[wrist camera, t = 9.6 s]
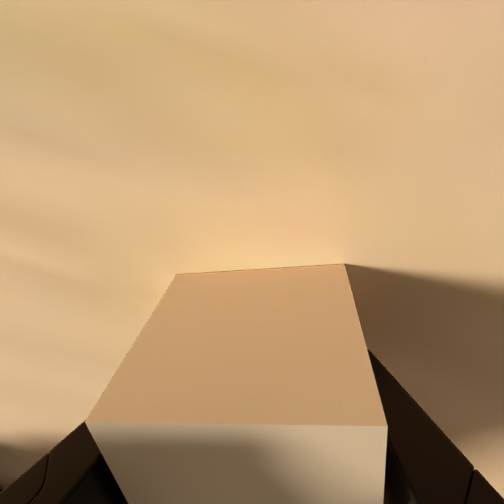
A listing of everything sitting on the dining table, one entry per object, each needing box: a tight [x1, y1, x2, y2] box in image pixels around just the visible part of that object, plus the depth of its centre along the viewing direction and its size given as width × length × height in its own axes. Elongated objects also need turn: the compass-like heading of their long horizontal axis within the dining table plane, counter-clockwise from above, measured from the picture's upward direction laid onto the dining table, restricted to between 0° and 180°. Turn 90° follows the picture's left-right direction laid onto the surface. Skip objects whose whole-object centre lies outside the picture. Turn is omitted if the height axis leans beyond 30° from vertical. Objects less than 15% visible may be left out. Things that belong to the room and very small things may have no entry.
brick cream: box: [85, 264, 388, 504], centre depth 8 cm, size 4×4×4 cm
